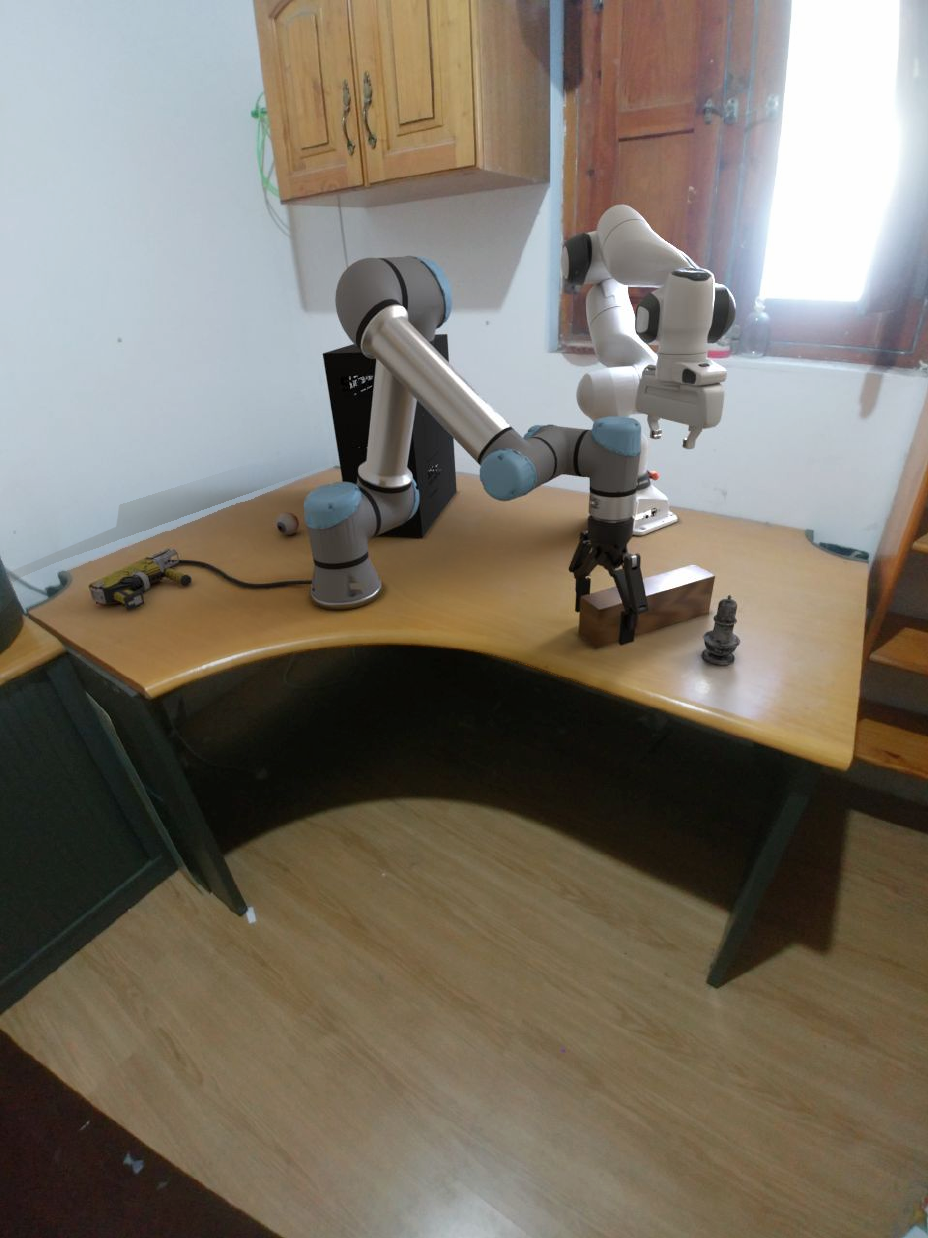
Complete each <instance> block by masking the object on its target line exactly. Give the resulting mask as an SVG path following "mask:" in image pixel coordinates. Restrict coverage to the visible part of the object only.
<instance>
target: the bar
mask: <svg viewBox="0 0 928 1238" xmlns="http://www.w3.org/2000/svg"><path fill="white" fill-rule="evenodd" d="M715 581H716V574H713V573H711V572H710V571H707V570H706V569H703V568H701V567H699V566H698V565H695V564H690V565H687V566H682V567H680V568H677V569H673V570H668V571H665V572H662V573H658V574H655V575H651V576H647V577H644V578H643V583H644V588H645V593H646V597H647V602H648V607H649V611H648V612H645V613H642V614H638V623H637V628H636V629H635V635H634V637H638V636H640V635H643V634H646V633H651V632H653V631H656V630H658V629H663V628H665V627H668V626H671V625H675V624H677V623H681V622H685V621H687V620H691V619H694V618H697V617H699V616H700V617H701V616H703V615H706V614H710V608H711V603H712V597H713V592H714V585H715ZM630 606H631V604H630ZM623 610H625V609H624V606H623V604H622V601H621V598H620V595H619V592H618V590H617V587H616V585H615V586H612V587H609V588H606V589H602V590H598V591H594V592H590V594H587V595H583V596H580V612H579V617H578V635H579V636H580V637H581V638H583V639H584V640H585V641H587V643H589V644H590V645H591V646H593V647H594V649H600V648H603V647H606V646H609V645H613V644H616V643H619V632H620V621H621V611H623Z"/></svg>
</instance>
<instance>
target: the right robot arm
mask: <svg viewBox="0 0 928 1238" xmlns="http://www.w3.org/2000/svg"><path fill="white" fill-rule="evenodd" d="M597 222H598V223H597V225H596V230H593V231H588V232H586V233H585V232H581V233H578V234H575V235H573V236H572V237H569V238H567V240H566V241H565V242H564V244H563V246H562V249H561V255H560V260H559V261H560V269H561V272H562V276H563V278H564V280H565V282H566V284H568V285H570V286H577V287H580V286H584V285H593V286H592V287H591V288H590V289H589V291H588V292H587V294H586V298H585V311H586V313H585V314H586V322H587V327H588V331H589V334H590V339H591V342H592V343H591V344H592V346H593V351H594V354H595V357H596V359H597V361H598V362H599V363H600V364H601V365H602V366H604V367H602V368H599V369H596V370H592V371H589V372H586V373H584V374H583V376H582V377H581V378H580V380H579V382H578V384H577V387H576V392H575V397H576V403H577V405H578V408H579V410H580V411H581V412H582V413H583V415H585V416H586V417H588V418H589V419H590V420H591V421H592V422H593V423H594V422H595V421H596V420H597V419H599V418H603V417H618V416H622V417H631V416H634V415H647V417H646V421H647V425H648V429H649V438H650V439H652V440H661V438H662V433H663V429H660V424H659V421H660V420H661V419H662V420H666V421H671V422H675V423H678V424H682V425H686V426H688V429H687V430H688V432H689V433H688V436H687V438H683V439H682V446H681V447H682V448H683V449H685V450H694V448H695V446H696V443H697V442H696V440H698V437H699V436H700V435H701V433H702V432H703V430H706V429H712V428H716V427H717V426H718V425H719V424H720V423H721V421H722V416H723V410H724V403H725V388H724V386H723V384H722V383H724V382H726V380H727V376H728V371H727V369H725V368H724V367H723V366H721V365H719V364H717V363H716V362H715V361H713V360H712V359H711V358H710V357H708V353H709V344H711V345H712V344H715V343H716V344H717V342H718V341H720V340H721V339H722V338H723V337H724V336H725V335H726V334H727V333H728V332H729V331H730V329H731V327H732V326H733V324H734V322H735V319H736V314H737V313H736V312H737V306H736V302H735V301H736V300H735V299H734V296H733V294H732V293H731V291H730V290H729V288H727V286H725V285H724V284H719V283H716V282H715V276H714V274H713V273H712V272H711V271H710V270H708V269H705V268H701V267H700V266H698V265H697V263H695V262H694V260H693V259H691V257H689V256H688V255H687V254H686V253H684V252H683V251H682V250H680V249H678V248H677V247H675V246H673V245H672V244H670V243H668V242H667V241H665V240H664V239H663V238H662V237H660V236H659V235H658V234H657V233H656V232H655V230H653V229H652V228H651V226H650V225H649V223H648V221H646V219H645V218H644V217H643V216H642V215H641V214H640V213H639V212H638V211H637V210H636V209H634V208H633V207H632V206H629V205H627V204H616V205H613V206H611V207H609V208H608V209H607V210H606V211H605V212H603V214H602V215H601V217H600V218H599V220H598V221H597ZM629 287H630V288H631V287H632V288H633V287H634V288H654V289H655V288H656V289H655V290H653V291H650V292H647V293H646V295H644V296H643V297H642V298H641V300H640V301H639V302H638V303H637V306H636V308H635V312H634V309H633V306H632V304H631V301H630V297H629V292H628V291H629V290H628V289H629ZM650 346H658V349H657V353H655V352H654V351H653V350H652V349H651V347H650ZM649 447H650V444H649V440H648V438H647V437H646V435H645V434H644V433H643V432H641V453H640V461H639V470H638V479H637V494H636V507H635V514H634V515H633V516H632V517H633V518H634V526H633V535H634V536H645V535H646V534H650V533H652V532H654V531H657V530H660V529H662V528H665V527H668V526H670V525H672V524H675V523H677V522H678V516H677V515H676V514H675V513H674V512H672V511H670V503H669V502H670V501H669V498H668V497H667V496H666V495H665V494H664V493H663V492H661V491H660V490H659V489H658V488H656V487H655V486H654V485H652V483H651V480H653V481H658V479H659V478H660V473H659V472H657V471H654V470H651V471H649V470H648V469H647V466H648V458H649V457H648V455H649Z"/></svg>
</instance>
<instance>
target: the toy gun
mask: <svg viewBox="0 0 928 1238" xmlns="http://www.w3.org/2000/svg"><path fill="white" fill-rule="evenodd" d="M173 557H176V558H177V559H176V560H177V561H174V560H175V559H172V558H173ZM169 559H170V561H171V562H168V560H169ZM179 560H180V559H179V553H178V551H177V550H176V549H171V548H169V547H168V548H166V549H164V550H162V551H159V552H158V553H155V554H153V555H151V556H146V557H145V558H142V559H140V560H138V561H135V562H134V563H132V564H130V565H127V566H125V567H123V568H121V569H119V570H117V571H115V572H112V573H110V574H108V575H106V576H104V577H102V578H100V579H97V580H95V581H93V582H91V583H89V584H88V588H89V592H90V595H91V599H92V601H93V602H95V604H96V605H100V606H103V605H113V604H117V603H121V604H123V605H124V606H125V611H128V612H129V611H131V610H134V609H136V608H138V607H141V606H143V605H145V604H146V603H145V598H144V594H143V592H145V591H147V590H149V589H150V588H151V585H152V584H154V583H157V582H160V581H162V580H163V579H164V578H166V579H169V580H171V581H173V582H177V584H181V585H182V586H184V587H186V586H189V585H191V584H192V577H191V576H190V575H189V574H185V573H182V572H180V571H178V570H175V569H173V568H172V567H173V566H175V565H179V564H180V563H179ZM172 561H174V562H172Z"/></svg>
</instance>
